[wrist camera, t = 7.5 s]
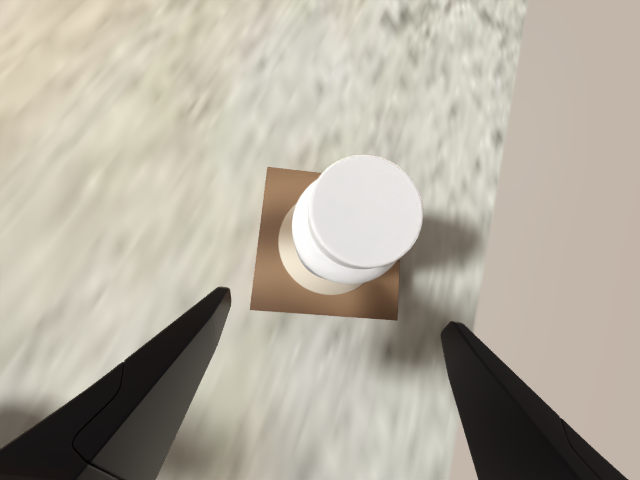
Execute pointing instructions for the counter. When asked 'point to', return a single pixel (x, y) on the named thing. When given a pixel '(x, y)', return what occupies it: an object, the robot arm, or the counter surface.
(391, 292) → the walnut base
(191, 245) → the counter surface
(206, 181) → the counter surface
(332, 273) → the pill bottle
